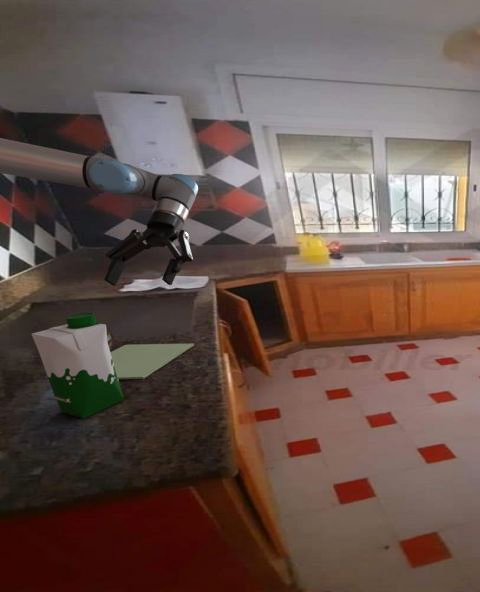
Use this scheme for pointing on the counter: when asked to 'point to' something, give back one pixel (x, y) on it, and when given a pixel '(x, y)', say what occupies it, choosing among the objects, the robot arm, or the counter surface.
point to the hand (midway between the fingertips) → (138, 282)
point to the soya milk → (79, 365)
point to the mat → (144, 358)
